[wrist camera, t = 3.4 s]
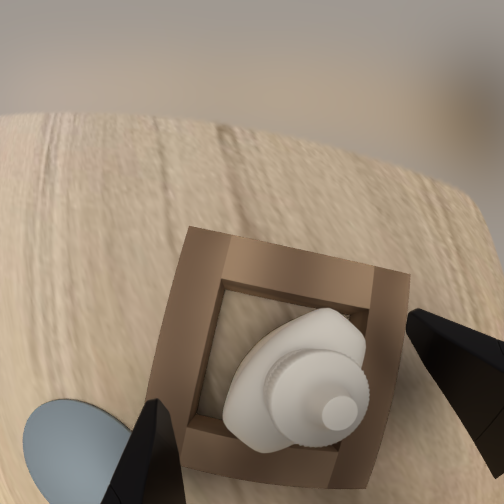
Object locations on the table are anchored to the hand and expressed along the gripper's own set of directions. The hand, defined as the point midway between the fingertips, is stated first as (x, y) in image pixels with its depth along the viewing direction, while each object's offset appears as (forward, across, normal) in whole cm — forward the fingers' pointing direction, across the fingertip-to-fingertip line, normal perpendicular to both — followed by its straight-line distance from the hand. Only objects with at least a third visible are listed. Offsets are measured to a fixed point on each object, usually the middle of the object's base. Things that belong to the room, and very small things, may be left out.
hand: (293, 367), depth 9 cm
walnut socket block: (+5, 0, +6) cm, 7 cm away
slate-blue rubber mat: (+2, +14, +9) cm, 17 cm away
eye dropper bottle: (+5, 0, +6) cm, 8 cm away
